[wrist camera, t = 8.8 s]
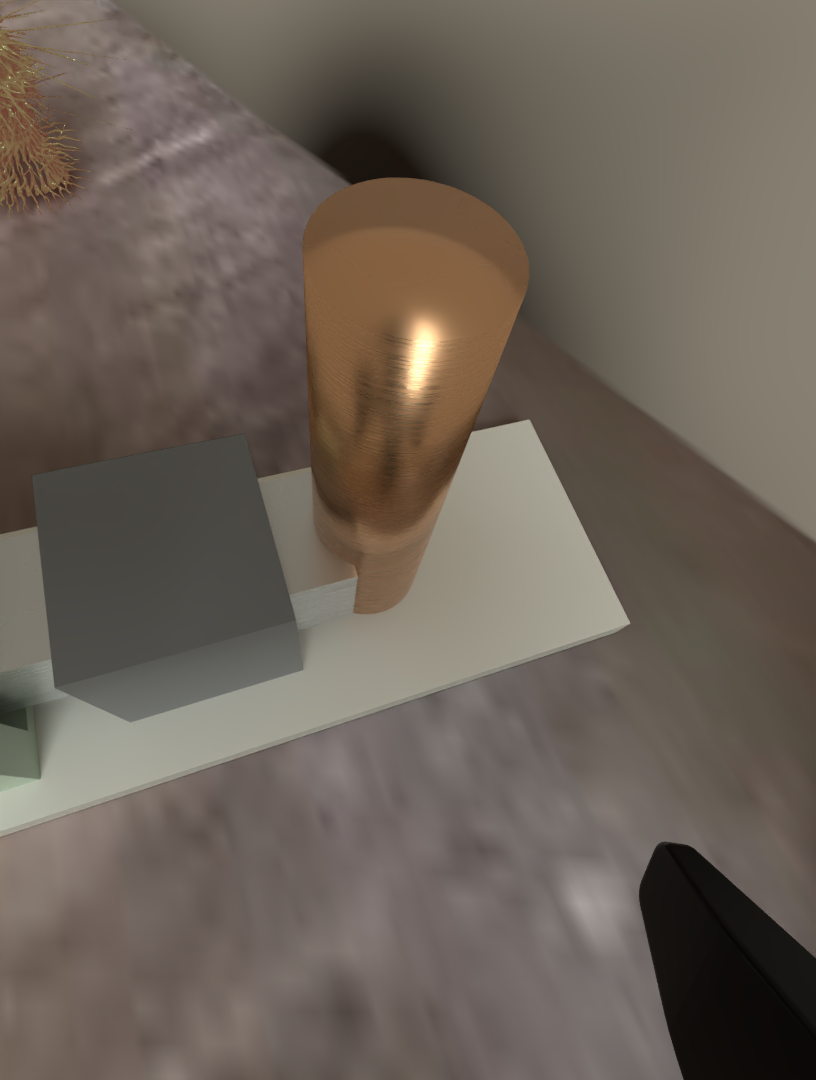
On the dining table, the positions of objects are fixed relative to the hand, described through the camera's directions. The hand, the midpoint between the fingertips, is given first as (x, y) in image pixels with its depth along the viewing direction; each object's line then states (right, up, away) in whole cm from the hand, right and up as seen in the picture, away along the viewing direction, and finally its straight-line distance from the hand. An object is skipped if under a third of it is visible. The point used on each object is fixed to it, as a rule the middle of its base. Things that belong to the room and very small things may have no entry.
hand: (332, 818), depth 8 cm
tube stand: (-5, +1, +12) cm, 13 cm away
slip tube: (-6, +1, +10) cm, 12 cm away
